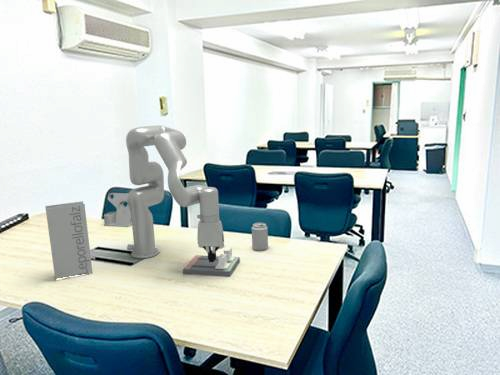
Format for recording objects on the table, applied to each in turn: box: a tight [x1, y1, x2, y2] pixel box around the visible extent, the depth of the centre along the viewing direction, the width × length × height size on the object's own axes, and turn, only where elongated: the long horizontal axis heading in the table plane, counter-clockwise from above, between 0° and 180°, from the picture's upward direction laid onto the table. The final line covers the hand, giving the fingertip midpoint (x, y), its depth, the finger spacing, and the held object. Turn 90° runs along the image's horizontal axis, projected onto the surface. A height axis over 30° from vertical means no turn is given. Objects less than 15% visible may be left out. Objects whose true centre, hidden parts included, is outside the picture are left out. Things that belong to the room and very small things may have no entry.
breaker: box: [223, 246, 236, 262], centre depth 178 cm, size 5×5×5 cm
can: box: [251, 222, 269, 252], centre depth 196 cm, size 8×8×12 cm
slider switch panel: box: [182, 254, 241, 277], centre depth 177 cm, size 20×16×2 cm
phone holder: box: [103, 192, 132, 228], centre depth 246 cm, size 17×10×18 cm, turn 74°
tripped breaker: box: [215, 253, 231, 270], centre depth 171 cm, size 5×5×5 cm
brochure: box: [45, 200, 94, 279], centre depth 171 cm, size 14×6×30 cm, turn 117°
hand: (212, 261), depth 172 cm, fingers closed
